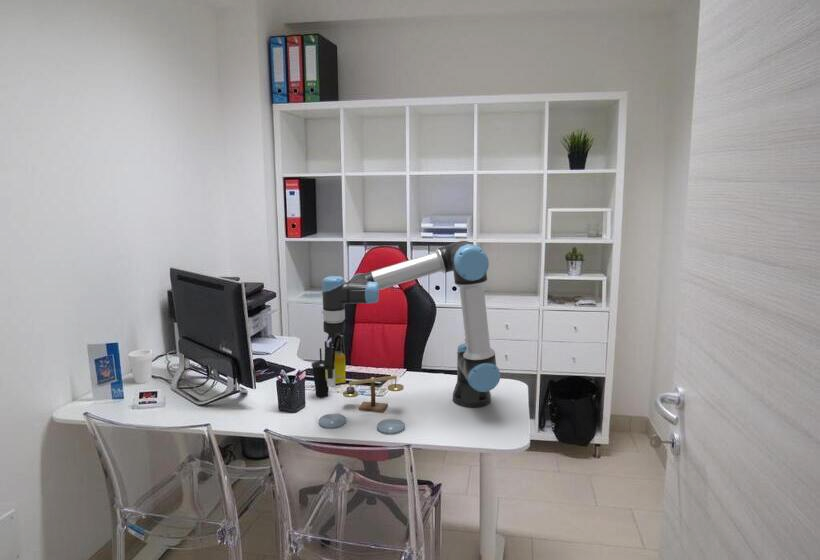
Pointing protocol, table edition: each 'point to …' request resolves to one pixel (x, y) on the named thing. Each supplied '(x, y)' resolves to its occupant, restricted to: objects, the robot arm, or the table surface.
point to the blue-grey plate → (391, 426)
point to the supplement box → (339, 369)
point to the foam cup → (141, 365)
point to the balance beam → (392, 387)
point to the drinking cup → (320, 378)
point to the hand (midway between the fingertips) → (335, 381)
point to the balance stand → (373, 403)
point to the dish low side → (332, 421)
